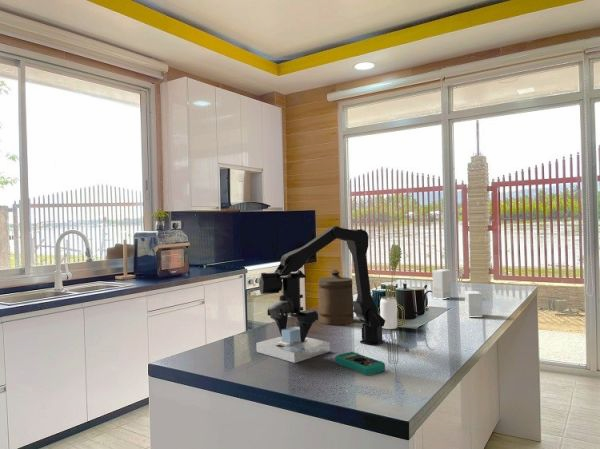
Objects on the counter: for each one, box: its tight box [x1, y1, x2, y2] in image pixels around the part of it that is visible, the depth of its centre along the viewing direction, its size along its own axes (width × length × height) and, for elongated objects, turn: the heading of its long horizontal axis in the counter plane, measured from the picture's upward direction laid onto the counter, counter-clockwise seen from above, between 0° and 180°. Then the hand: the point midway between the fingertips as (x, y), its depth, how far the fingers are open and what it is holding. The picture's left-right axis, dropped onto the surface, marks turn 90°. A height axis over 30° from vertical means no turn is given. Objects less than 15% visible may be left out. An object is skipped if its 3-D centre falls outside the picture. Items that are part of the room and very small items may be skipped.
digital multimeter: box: [334, 351, 386, 376], centre depth 130 cm, size 7×15×3 cm, turn 33°
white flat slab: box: [255, 336, 331, 364], centre depth 147 cm, size 18×16×3 cm
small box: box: [464, 290, 484, 317], centre depth 195 cm, size 8×6×10 cm
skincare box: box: [431, 268, 452, 298], centre depth 241 cm, size 8×7×16 cm
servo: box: [278, 326, 307, 348], centre depth 147 cm, size 4×10×8 cm, turn 134°
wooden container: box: [317, 269, 355, 326], centre depth 191 cm, size 15×15×22 cm
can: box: [379, 295, 398, 330], centre depth 177 cm, size 6×6×12 cm
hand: (292, 339), depth 147 cm, fingers open, 9 cm apart
